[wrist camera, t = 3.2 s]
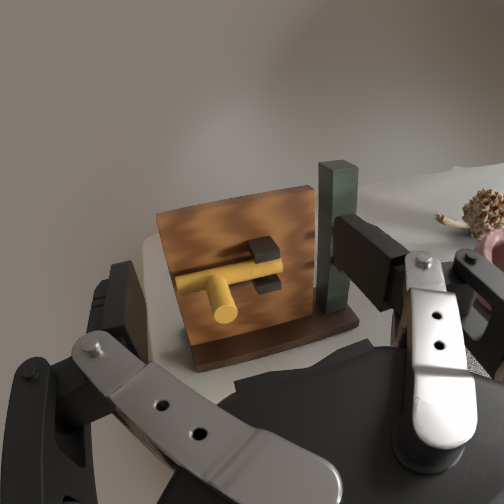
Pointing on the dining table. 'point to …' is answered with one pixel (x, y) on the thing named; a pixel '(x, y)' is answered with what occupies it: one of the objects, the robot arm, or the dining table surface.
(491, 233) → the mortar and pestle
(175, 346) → the dining table surface
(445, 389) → the robot arm
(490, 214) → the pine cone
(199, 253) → the door
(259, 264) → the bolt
